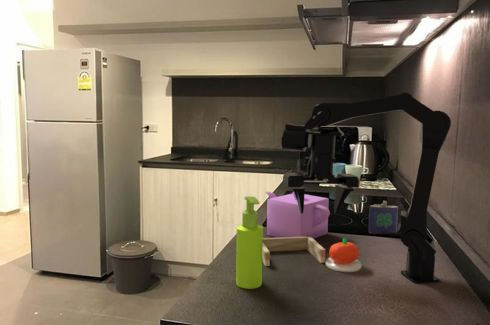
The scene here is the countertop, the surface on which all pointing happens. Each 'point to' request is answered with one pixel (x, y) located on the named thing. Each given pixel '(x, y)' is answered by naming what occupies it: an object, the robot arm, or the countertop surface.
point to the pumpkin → (344, 252)
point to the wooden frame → (292, 247)
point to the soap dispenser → (249, 248)
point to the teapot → (297, 216)
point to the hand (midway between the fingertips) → (318, 213)
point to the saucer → (343, 266)
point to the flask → (383, 219)
